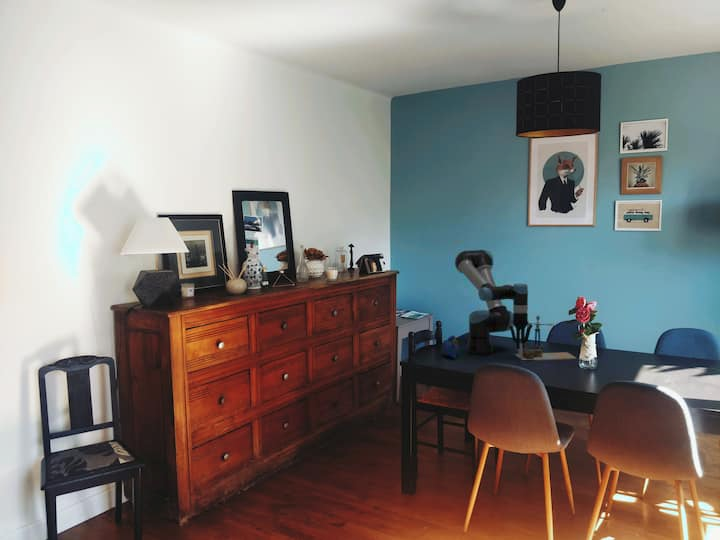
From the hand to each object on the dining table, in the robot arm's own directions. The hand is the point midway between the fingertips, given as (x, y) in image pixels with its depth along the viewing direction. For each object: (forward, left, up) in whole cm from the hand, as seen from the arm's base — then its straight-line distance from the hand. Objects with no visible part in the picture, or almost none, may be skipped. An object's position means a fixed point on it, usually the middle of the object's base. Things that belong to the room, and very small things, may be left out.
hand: (520, 354), depth 309 cm
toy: (-36, +9, -2) cm, 38 cm away
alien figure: (+18, +21, -2) cm, 28 cm away
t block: (+7, 0, -2) cm, 7 cm away
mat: (+14, 0, -2) cm, 14 cm away
